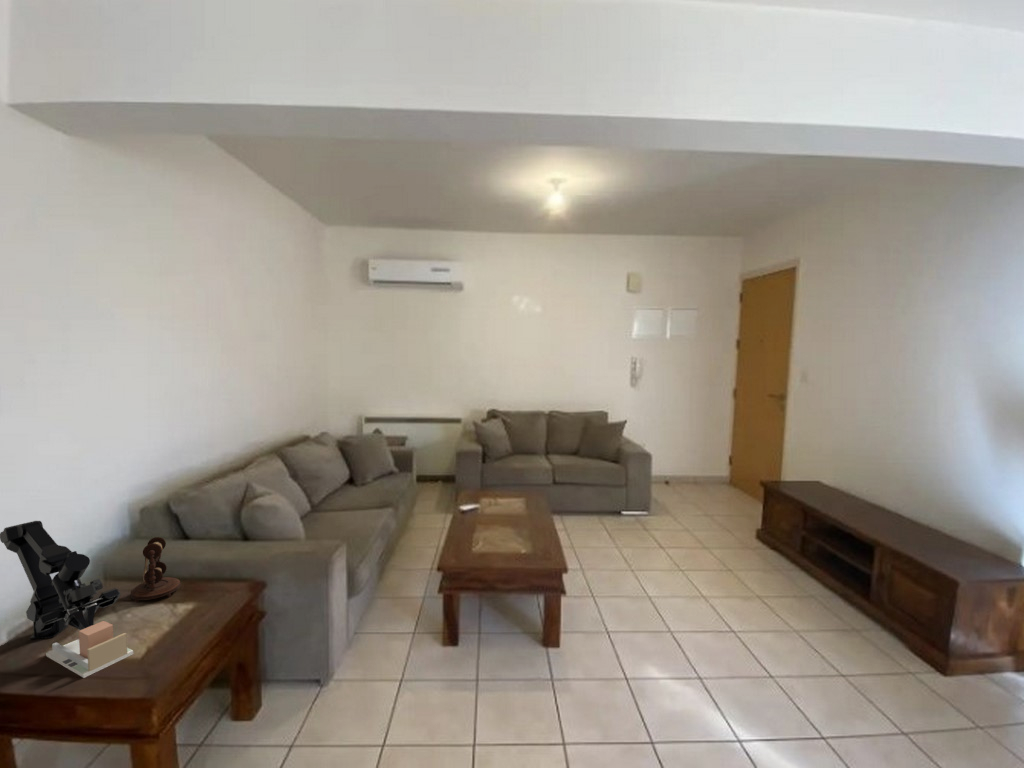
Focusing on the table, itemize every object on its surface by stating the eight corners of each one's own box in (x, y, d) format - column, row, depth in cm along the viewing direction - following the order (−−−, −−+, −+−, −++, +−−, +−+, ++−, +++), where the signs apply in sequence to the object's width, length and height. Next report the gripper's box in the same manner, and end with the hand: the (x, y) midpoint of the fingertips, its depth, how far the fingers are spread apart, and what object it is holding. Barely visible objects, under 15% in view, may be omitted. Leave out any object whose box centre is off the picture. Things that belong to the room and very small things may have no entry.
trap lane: (46, 656, 144) (44, 632, 144) (95, 635, 155) (94, 613, 154) (83, 677, 135) (82, 653, 134) (133, 654, 146) (132, 631, 145)
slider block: (80, 657, 141) (78, 630, 141) (104, 646, 147) (103, 620, 146) (89, 663, 139) (87, 635, 139) (114, 651, 145) (112, 625, 144)
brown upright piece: (136, 588, 185) (134, 536, 184) (183, 581, 191) (182, 530, 190) (125, 607, 172) (123, 551, 170) (176, 599, 178) (174, 544, 176)
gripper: (37, 587, 137) (59, 636, 133) (116, 562, 153) (137, 605, 149) (26, 608, 141) (46, 656, 137) (103, 581, 157) (124, 623, 153)
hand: (91, 634), depth 144 cm, fingers closed, pressing on slider block
